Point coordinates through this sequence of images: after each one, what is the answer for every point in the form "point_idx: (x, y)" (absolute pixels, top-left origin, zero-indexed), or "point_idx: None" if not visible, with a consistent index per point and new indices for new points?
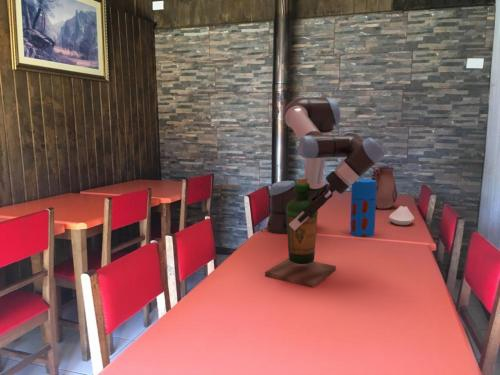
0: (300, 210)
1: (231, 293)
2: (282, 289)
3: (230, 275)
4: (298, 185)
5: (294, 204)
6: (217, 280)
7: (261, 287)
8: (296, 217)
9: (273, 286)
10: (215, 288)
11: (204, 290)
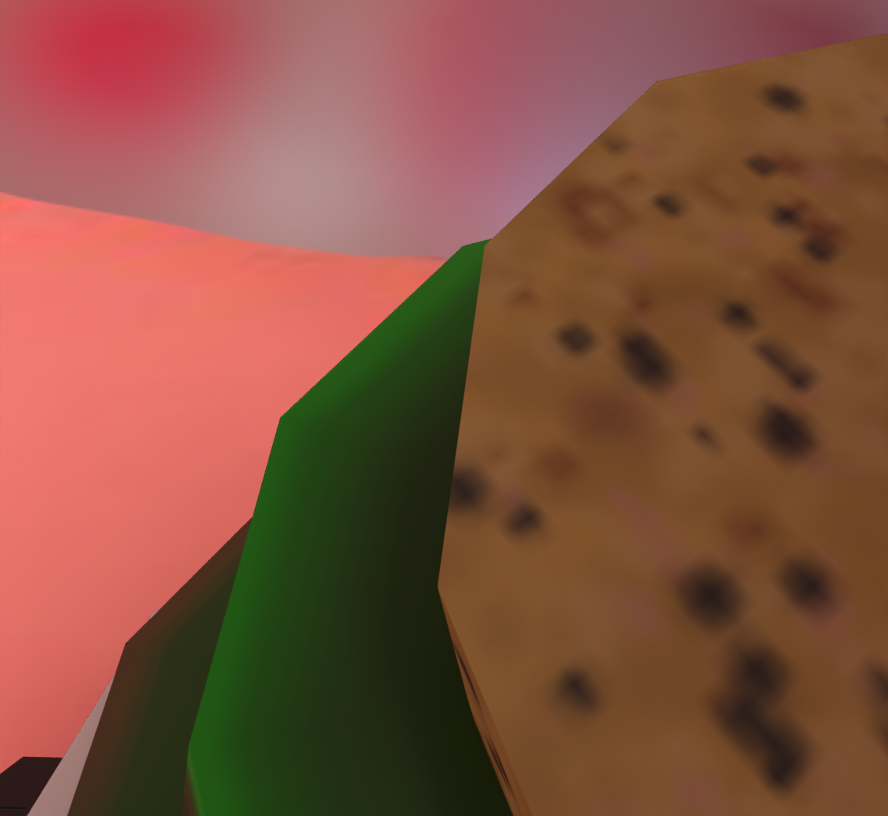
0: (80, 800)
1: (11, 386)
2: (44, 717)
3: (311, 341)
4: (307, 422)
5: (217, 592)
6: (224, 287)
7: (96, 554)
8: (90, 723)
9: (110, 639)
10: (98, 295)
11: (73, 250)
